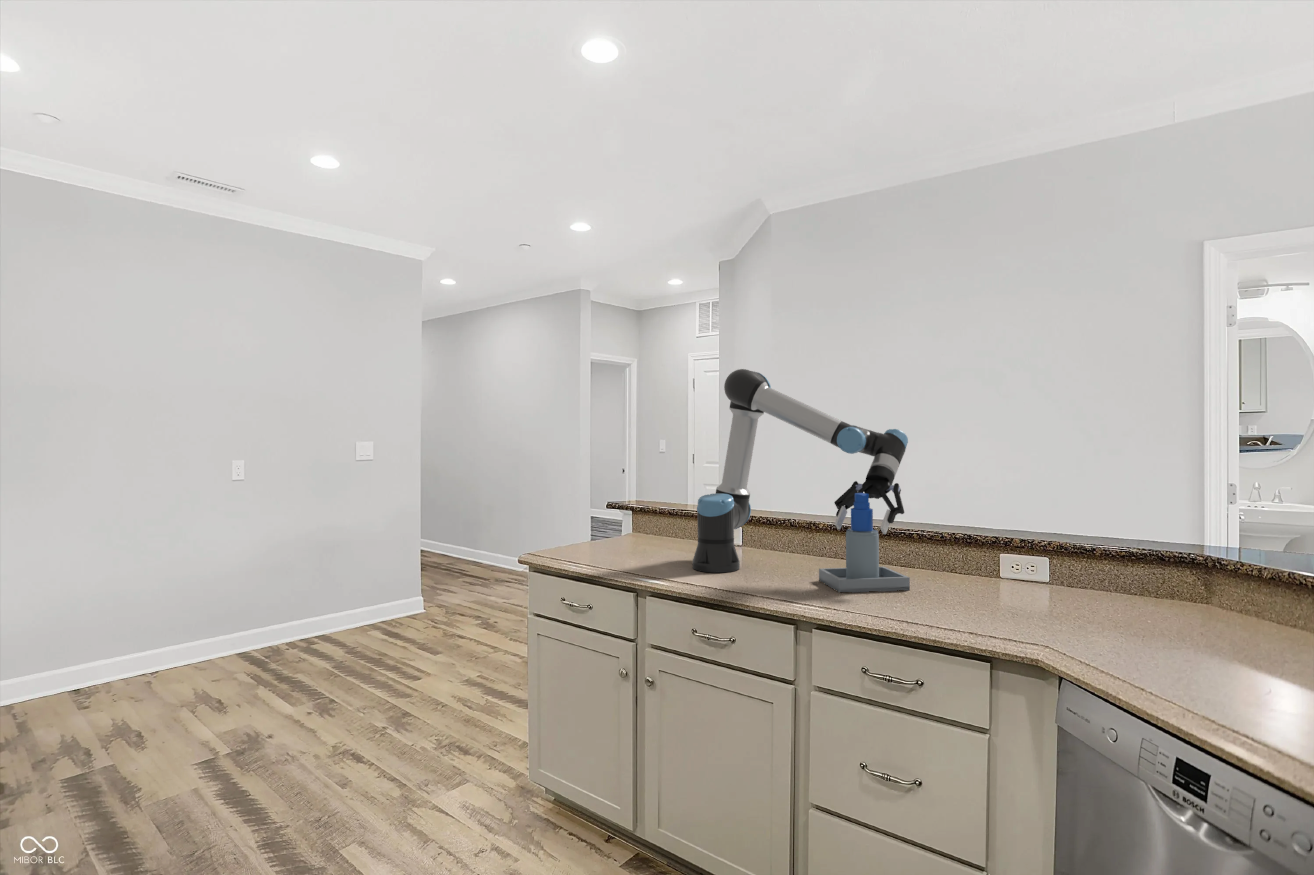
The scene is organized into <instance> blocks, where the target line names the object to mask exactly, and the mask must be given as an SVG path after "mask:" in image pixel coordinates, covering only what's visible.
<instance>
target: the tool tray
mask: <svg viewBox="0 0 1314 875" xmlns="http://www.w3.org/2000/svg"><path fill="white" fill-rule="evenodd" d="M910 578H911V577H909V576H907V575H904V574H902V573H900V572H898V571H895V570H894V569H890V568H889V567H886V566H879V578H858V579H846V567H830V568H828V567H827V568H823V567H822V568H818V581H819V580H820V581H819V582H820V583H822V582H823V583H822V584H824V583H825V584H824V585H826V586H827V585H828V586H827V587H829V588H830V587H831V588H830V589H832V588H833V590H834V589H835V590H837V591H838V592H837V591H836V592H837V593H839V592H852V593H870V592H869V591H878V592H895V591H896V592H897V590H898V591H899V590H904V591H910V590H911V589H910V586H911V585H910V581H911V580H910ZM835 590H834V591H835Z"/></svg>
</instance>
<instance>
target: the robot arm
mask: <svg viewBox="0 0 1314 875" xmlns="http://www.w3.org/2000/svg"><path fill="white" fill-rule="evenodd" d="M723 387H724V388H723V390H724V393H725V396H726V397H727V399H728V400H730V402H729V410H730V412H731V413H732V418H731V425H730V432H729V437H728V442H727V449H726V456H725V461H724V466H723V473H722V479H721V483H720V484H718V486H717V487H716V488H715V493H710V494H704V495H702V496H700V497H698V499H697V507H696V511H697V513H696V514H697V545H696V549H695V552H694V556H693V558H692V569H693V570H695V571H697V572H698V571H699V572H704V573H718V574H719V573H731V572H735V571H739V570H740V568H741V566H740V562H741V561H740V558H739V555H738V553H737V552H738V551H737V549H736V546H735V530H737V529H740V528H741V527H743V526H745V524H746V523H747V522H748V520H749V519H750V517H751V513H752V507H751V503H750V497H751V491H749V489H748V482H749V476H750V471H751V463H752V458H753V453H754V452H753V451H754V446H755V442H756V434H757V428H758V422H759V419H760V418H761V417H762V416H763V415H764V413H766V414H768V415H769V416H772V417H774V418H776V419H779V421H783V422H785V423H787V424H788V425H791V426H793V427H795V428H797V429H799V430H800V431H801V430H802V431H804V432H806V433H808V434H810V435H811V436H814V437H817V438H818V439H820V440H822V441H825V442H827V443H829V444H830V445H833V446H835V447H837V448H839V449H840V450H841V451H843V452H845V453H846V454H851V455H852V454H853V455H854V454H857V453H860V454H863V455H867V456H869V457H870V456H871V457H873V460H872V462H871V464H870V466H869V469H868V471H867V474H866V476H865V481H863V483H859V482H858V481H857V480H855V481H853V482H852V484H851V486H850V487H849V488H848V489H847V490H846V491H845V492H844V493H843V494H841V495H840V496H839V497H838V498H837V499H836V500H834V503H833V504H834V505H835V507H836V509H837V511H836V513H835V516H836V519H835V521H834V525H835V527H836V529H837V530H841V528H842V526H843V524H844V521H845V519H846V516H847V515H848V510H849V509H851V508H853V507H854V502H855V493H866V494H869V499H876V500H879V499H881V498H882V499H883V502H885V504H886V506H887V507H888V509H886V512H885V514H884V516H883V519H882V522H881V523H880V524H881V525H880V526H879V527H880V528H879V529H880V531H881V533H882V534H883V535H886V534H887V533H888V530H889V527H890V524H893V523H894V522H895V519H896V516H897V515H899V514H900V515H904V514H905V510H904V505H903V501H902V498H901V491H902V489H901V487H900V484H899V483H897V482H896V483H894V480H895V477H896V475H897V473H898V470H899V467H900V464H901V463H902V460H903V457H904V455H905V453H906V450H907V446H908V443H909V437H908V436H907V434H906V433H905V432H904V431H902V430H900V429H899V428H898V429H897V428H889V429H887V430H886V431H884V433H882V432H877V431H874V430H871V429H867V428H863V427H860V426H857V425H854V424H850V423H847V422H845V421H843V420H841V419H838V418H837V417H834V416H832V415H831V414H828V413H825V412H823V411H821V410H819V409H817V408H815V407H812V406H811V405H808V404H806V403H804V402H802V401H799V400H797V399H795V398H793V397H791V396H789V395H786V394H785V393H782V392H780V391H777V390H775V389H774V388H772V387H771V383H770V382H769V379H767V377H766V376H765V375H764V374H762V373H760V372H758V371H755V370H754V371H753V370H749V369H744V368H740V369H739V368H738V369H735V370H734V371H731V373H730V374H728V376H727V377H726V379H725V381H724V385H723ZM893 483H894V485H893ZM891 491H892V493H893V494H894V500H895V502H896V506H895V505H894V503H893V502H892V501H891V499H890V498H889V496H888V495H887V494H888V493H890V492H891Z"/></svg>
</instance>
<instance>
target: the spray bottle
mask: <svg viewBox="0 0 1314 875" xmlns="http://www.w3.org/2000/svg"><path fill="white" fill-rule="evenodd" d="M869 499H870V498H869V494H866V493H864V492H863V493H855V502H854V505H853V507H850V528H848V529H846V532H845V568H846V579H858V578H879V567H880V541H879V540H880V537H879V536H880V535H879V531H878V530H877V529H874V518H873V517H874V516H873V515H874V512H873V511H874V509H873V508H871V506H870V505H871V504H870V503H871V502H870V500H869Z"/></svg>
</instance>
